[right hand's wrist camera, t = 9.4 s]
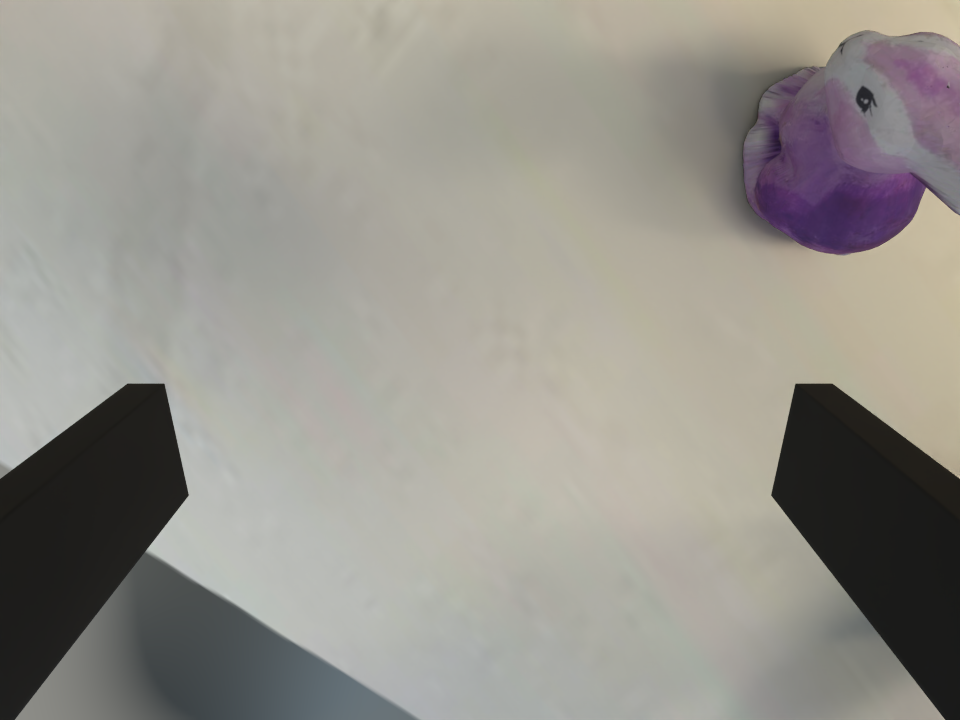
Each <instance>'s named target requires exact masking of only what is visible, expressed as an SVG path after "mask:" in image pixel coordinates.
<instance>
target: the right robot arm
mask: <svg viewBox="0 0 960 720" xmlns="http://www.w3.org/2000/svg"><path fill="white" fill-rule="evenodd" d="M188 496H189V494H188V490H187V485H186V481H185V476H184V471H183V467H182V462H181V458H180V453H179V448H178V444H177V439H176V435H175V430H174V425H173V421H172V416H171V412H170V407H169V403H168V398H167V393H166V389H165V384H127V385H125V386H124V387H123V388H121V389H120V390H118V391H117V392H116V393H114V394H113V395H112V396H110V397H109V398H108V399H106V400H105V401H104V402H102V403H101V404H100V405H98V406H97V407H96V408H94V409H93V410H92V411H90V412H89V413H88V414H86V415H85V416H84V417H82V418H81V419H80V420H78V421H77V422H76V423H74V424H73V425H72V426H70V427H69V428H68V429H66V430H65V431H64V432H62V433H61V434H60V435H58V436H57V437H56V438H54V439H53V440H52V441H50V442H49V443H48V444H46V445H45V446H44V447H42V448H41V449H40V450H38V451H37V452H36V453H34V454H33V455H32V456H30V457H29V458H28V459H26V460H25V461H24V462H22V463H21V464H20V465H18V466H17V467H16V468H14V469H13V470H12V471H10V472H9V473H8V474H6V475H5V476H4V477H2V478H1V479H0V720H15V719H16V717H17V716H18V715H19V713H20V712H21V711H22V710H23V708H24V707H25V706H26V704H27V703H28V702H29V701H30V699H31V698H32V697H33V695H34V694H35V693H36V692H37V690H38V689H39V688H40V686H41V685H42V684H43V682H44V681H45V680H46V679H47V677H48V676H49V675H50V673H51V672H52V671H53V670H54V668H55V667H56V666H57V664H58V663H59V662H60V661H61V659H62V658H63V657H64V655H65V654H66V653H67V652H68V650H69V649H70V648H71V646H72V645H73V644H74V643H75V641H76V640H77V639H78V637H79V636H80V635H81V633H82V632H83V631H84V630H85V628H86V627H87V626H88V625H89V623H90V622H91V621H92V619H93V618H94V617H95V615H96V614H97V613H98V612H99V610H100V609H101V608H102V606H103V605H104V604H105V603H106V601H107V600H108V599H109V597H110V596H111V595H112V594H113V592H114V591H115V590H116V588H117V587H118V586H119V585H120V583H121V582H122V581H123V579H124V578H125V577H126V576H127V574H128V573H129V572H130V570H131V569H132V568H133V567H134V565H135V564H136V563H137V561H138V560H139V559H140V557H141V556H142V555H143V554H144V552H145V551H146V550H147V548H148V547H149V546H150V545H151V543H152V542H153V541H154V539H155V538H156V537H157V536H158V534H159V533H160V532H161V530H162V529H163V528H164V527H165V525H166V524H167V523H168V521H169V520H170V519H171V518H172V516H173V515H174V514H175V512H176V511H177V510H178V509H179V507H180V506H181V505H182V503H183V502H184V501H185V500H186V498H187V497H188ZM771 496H772V497H773V498H774V500H775V501H776V502H777V503H778V505H779V506H780V507H781V509H782V510H783V511H784V512H785V514H786V515H787V516H788V518H789V519H790V520H791V521H792V523H793V524H794V525H795V527H796V528H797V529H798V530H799V532H800V533H801V534H802V536H803V537H804V538H805V539H806V541H807V542H808V543H809V545H810V546H811V547H812V548H813V550H814V551H815V552H816V554H817V555H818V556H819V557H820V559H821V560H822V561H823V563H824V564H825V565H826V567H827V568H828V569H829V570H830V572H831V573H832V574H833V576H834V577H835V578H836V579H837V581H838V582H839V583H840V585H841V586H842V587H843V588H844V590H845V591H846V592H847V594H848V595H849V596H850V597H851V599H852V600H853V601H854V603H855V604H856V605H857V606H858V608H859V609H860V610H861V612H862V613H863V614H864V615H865V617H866V618H867V619H868V621H869V622H870V623H871V625H872V626H873V627H874V628H875V630H876V631H877V632H878V634H879V635H880V636H881V637H882V639H883V640H884V641H885V643H886V644H887V645H888V646H889V648H890V649H891V650H892V652H893V653H894V654H895V655H896V657H897V658H898V659H899V661H900V662H901V663H902V664H903V666H904V667H905V668H906V670H907V671H908V672H909V673H910V675H911V676H912V677H913V679H914V680H915V681H916V682H917V684H918V685H919V686H920V688H921V689H922V690H923V692H924V693H925V694H926V695H927V697H928V698H929V699H930V701H931V702H932V703H933V704H934V706H935V707H936V708H937V710H938V711H939V712H940V713H941V715H942V716H943V717H944V719H945V720H960V479H959V478H958V477H956V476H955V475H954V474H952V473H951V472H950V471H948V470H947V469H946V468H944V467H943V466H942V465H940V464H939V463H938V462H936V461H935V460H934V459H932V458H931V457H930V456H928V455H927V454H926V453H924V452H923V451H922V450H920V449H919V448H918V447H916V446H915V445H914V444H912V443H911V442H910V441H908V440H907V439H906V438H904V437H903V436H902V435H900V434H899V433H898V432H896V431H895V430H894V429H892V428H891V427H890V426H888V425H887V424H886V423H884V422H883V421H882V420H880V419H879V418H878V417H876V416H875V415H874V414H872V413H871V412H870V411H868V410H867V409H866V408H864V407H863V406H862V405H860V404H859V403H858V402H856V401H855V400H854V399H852V398H851V397H850V396H848V395H847V394H846V393H844V392H843V391H842V390H840V389H839V388H837V387H836V386H835V385H833V384H795V389H794V393H793V398H792V403H791V407H790V412H789V416H788V421H787V425H786V430H785V435H784V439H783V444H782V448H781V453H780V458H779V462H778V467H777V471H776V476H775V481H774V485H773V490H772V494H771Z"/></svg>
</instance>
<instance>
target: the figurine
mask: <svg viewBox="0 0 960 720" xmlns="http://www.w3.org/2000/svg"><path fill="white" fill-rule="evenodd" d="M743 145H744V149H743V160H744V164H743V168H744V183H745V188H746V193H747V199H748V203H749V204H750V205H751V207H752V208H753V210H754V211H755V213H756V214H757V215H759V216H760V217H761V218H763V219H765V220H767V221H768V222H769V223H770V224H771V225H773V226H774V227H775V228H777V229H779V230H780V231H782V232H784V233H785V234H787V235H788V236H790V237H791V238H792V239H794V240H795V241H796V242H798V243H799V244H801V245H803V246H805V247H808V248H810V249H813V250H816V251H819V252H824V253H830V254H836V255H848V254H851V253H855V252H861V251H866V250H870V249H872V248H875V247H878V246H880V245H881V244H883V243H885V242H887V241H888V240H890V239H891V238H893V237H894V236H896V235H897V234H898V233H899V232H901V231H902V230H903V229H904V228H905V227H906V226H907V225H908V224H909V223H910V222H911V220H912V219H913V217H914V215H915V213H916V212H917V209H918V206H919V203H920V200H921V198H922V196H923V193H924V191H925V189H926V187H927V188H928V189H929V190H930V191H931V192H932V193H933V194H935V195H936V196H937V197H938V198H939V199H940V200H941V201H942V202H944V203H945V204H946V205H947V206H948V207H949V208H950V209H951V210H952V211H954V212H955V213H957V214H958V215H960V47H959V45H958V44H957V43H955V42H953V41H952V40H950V39H949V38H947V37H945V36H942V35H939V34H936V33H930V32H919V33H914V34H910V35H904V36H886V35H883V34H880V33H878V32H875V31H867V30H865V31H861V32H858V33H856V34H853V35H851V36H849V37H847V38H846V39H845V40H844V41H843V42H841V44H840V45H839V47H838V48H837V50H836V51H835V52H834V53H833V54H832V56H831V58H830V59H829V61H828V63H827V64H826V67H815V66H813V67H811V68H808V67H806V68H804V69H802V70H800V71H798V72H797V74H793V75H792V76H789V77H788V78H784V79H783V81H781V80H780V81H779V82H778V83H775V84H774V85H772V86H771V87H769V89H768V90H767V91H766V92H765V93H764V94H763V96H762V98H761V100H760V102H759V110H758V119H757V122H756V124H755V125H754V126H753V127H752V128H751V129H750V131H749V132H748V134H747V136H746V139H745V142H744V144H743Z"/></svg>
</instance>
